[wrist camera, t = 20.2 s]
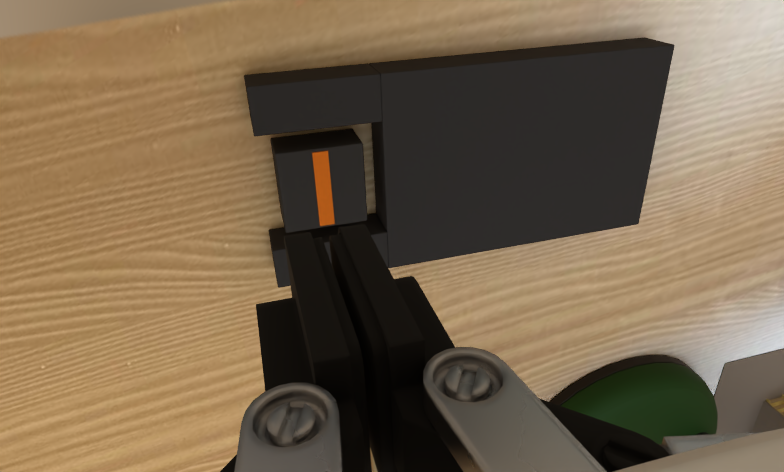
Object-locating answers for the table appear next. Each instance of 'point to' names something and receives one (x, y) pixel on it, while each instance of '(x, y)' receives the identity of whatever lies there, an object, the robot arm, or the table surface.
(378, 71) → the black notched block
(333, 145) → the tile
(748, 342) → the table surface
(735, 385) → the architectural model
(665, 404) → the desk lamp
